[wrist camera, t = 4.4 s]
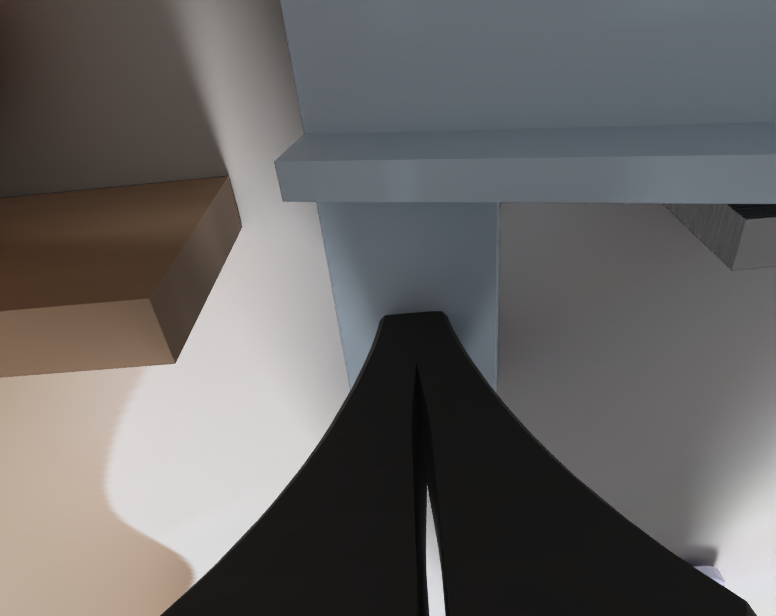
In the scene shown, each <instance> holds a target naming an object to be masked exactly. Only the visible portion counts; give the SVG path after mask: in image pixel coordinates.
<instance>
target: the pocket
mask: <svg viewBox="0 0 776 616" xmlns="http://www.w3.org/2000/svg"><path fill="white" fill-rule="evenodd" d="M241 228H242V225H241V221H240V217H239V214H238V210H237V206H236V202H235V199H234V195H233V191H232V188H231V184H230V180H229V176H225V177H215V178H204V179H194V180H184V181H173V182H163V183H153V184H142V185H132V186H121V187H111V188H101V189H90V190H80V191H70V192H59V193H49V194H39V195H28V196H18V197H8V198H0V377H13V376H26V375H38V374H51V373H63V372H75V371H89V370H101V369H114V368H126V367H139V366H152V365H164V364H175V363H176V361H177V359H178V357H179V355H180V353H181V351H182V349H183V347H184V345H185V343H186V341H187V339H188V337H189V334H190V332H191V330H192V328H193V326H194V324H195V322H196V320H197V318H198V316H199V314H200V312H201V310H202V308H203V306H204V304H205V302H206V300H207V298H208V296H209V294H210V292H211V290H212V288H213V285H214V283H215V281H216V279H217V277H218V275H219V273H220V271H221V269H222V267H223V265H224V263H225V261H226V259H227V257H228V255H229V253H230V251H231V249H232V247H233V245H234V243H235V241H236V239H237V237H238V234H239V232H240V230H241Z"/></svg>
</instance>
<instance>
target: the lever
mask: <svg viewBox="0 0 776 616" xmlns="http://www.w3.org/2000/svg"><path fill="white" fill-rule="evenodd" d="M280 4H281V9H282V15H283V20H284V26H285V31H286V37H287V42H288V48H289V53H290V59H291V64H292V70H293V75H294V81H295V86H296V92H297V97H298V103H299V108H300V114H301V120H302V125H303V131H304V135H303V136H302V137H301V138H300V139H299V140H298V141H297V142H296V143H294V144H293V145H292V146H291V147H290V148H289V149H288V150H287V151H286V152H284V153H283V154H282V155H281V156H280V157H279V158H278V159H277V160H275V161H274V163H275V167H276V172H277V177H278V181H279V186H280V190H281V195H282V200H283V201H287V202H317V208H318V213H319V219H320V224H321V230H322V235H323V241H324V247H325V252H326V258H327V263H328V269H329V274H330V280H331V285H332V291H333V296H334V302H335V307H336V313H337V318H338V324H339V329H340V335H341V340H342V346H343V351H344V357H345V363H346V368H347V374H348V379H349V385H350V390H351V389H352V387H353V385H354V383H355V381H356V379H357V377H358V375H359V373H360V371H361V369H362V366H363V364H364V362H365V360H366V358H367V355H368V353H369V351H370V348H371V346H372V343H373V341H374V338H375V335H376V332H377V329H378V325H379V321H380V320H381V319H382V318H383V317H384V316H385V315H392V314H405V313H417V312H429V311H442V312H443V313H444V314H445V315H447V316H448V319H449V321H450V323H451V325H452V327H453V329H454V331H455V333H456V335H457V337H458V339H459V340H460V342H461V344H462V345H463V347H464V348H465V350H466V352H467V353H468V355H469V356H470V358H471V359H472V361H473V362H474V364H475V365H476V367H477V368H478V369H479V371H480V372H481V373H482V375H483V376H484V378H485V379H486V380H487V382H488V383H489V385H490V386H491V387H492V388H493V390H494V391H495V392H496V394H497V361H498V302H499V244H500V203H700V204H776V0H280Z"/></svg>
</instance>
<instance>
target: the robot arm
mask: <svg viewBox="0 0 776 616" xmlns="http://www.w3.org/2000/svg"><path fill="white" fill-rule="evenodd" d="M427 486H428V491H429V497H430V503H431V508H432V514H433V519H434V525H435V531H436V536H437V542H438V548H439V555H440V562H441V570H442V579H443V591H444V602H445V613H446V616H757V615H756V614H755V612H754V611H753V610H752V608H751V607H750V605H749V604H748V603H747V602H746V601H745V600H744V599H742V598H741V597H739V596H737V595H736V594H734V593H733V592H731V591H730V590H728V589H727V588H725V587H724V579H723V577H722V575H721V573H720V571H719V570H718V569H717V568H715V567H712V566H692V565H690V564H689V563H687V562H686V561H684V560H682V559H681V558H679V557H678V556H676V555H675V554H673V553H672V552H671V551H669V550H668V549H666V548H665V547H664V546H662V545H661V544H660V543H658V542H657V541H656V540H654V539H653V538H652V537H650V536H649V535H647V534H646V533H645V532H643V531H642V530H641V529H639V528H638V527H637V526H635V525H634V524H633V523H631V522H630V521H629V520H627V519H626V518H625V517H624V516H622V515H621V514H620V513H619V512H618V511H616V510H615V509H614V508H613V507H612V506H610V505H609V504H608V503H607V502H606V501H604V500H603V499H602V498H601V497H600V496H598V495H597V494H596V493H595V492H593V491H592V490H591V489H590V488H589V487H587V486H586V485H585V484H584V483H583V482H581V481H580V480H579V479H578V478H577V477H576V476H574V475H573V474H572V473H571V472H570V471H569V470H568V469H567V468H566V467H565V466H564V465H563V464H562V463H560V462H559V461H558V460H557V459H556V458H555V457H554V456H553V455H552V454H551V453H550V452H549V451H548V450H547V449H546V448H545V447H544V446H543V445H542V444H541V443H540V442H539V441H538V440H537V439H536V438H535V437H534V436H533V435H532V434H531V433H530V432H529V431H528V430H527V429H526V427H525V426H524V425H523V424H522V423H521V422H520V421H519V420H518V419H517V417H516V416H515V415H514V414H513V413H512V412H511V410H510V409H509V408H508V407H507V406H506V404H505V403H504V402H503V401H502V400H501V399H500V397H499V396H498V395H497V394H496V392H495V391H494V390H493V388H492V387H491V386H490V385H489V383H488V382H487V380H486V379H485V378H484V376H483V375H482V373H481V372H480V371H479V369H478V368H477V367H476V365H475V364H474V362H473V361H472V359H471V358H470V356H469V355H468V353H467V352H466V350H465V348H464V347H463V345H462V344H461V342H460V340H459V339H458V337H457V335H456V333H455V331H454V329H453V327H452V325H451V323H450V321H449V319H448V316H447V315H445V314H444V313H443V312H442V311H429V312H417V313H405V314H392V315H385V316H384V317H383V318H382V319H381V320H380V321H379V325H378V329H377V332H376V335H375V338H374V341H373V343H372V346H371V348H370V351H369V353H368V355H367V358H366V360H365V362H364V364H363V366H362V369H361V371H360V373H359V375H358V377H357V379H356V381H355V383H354V385H353V387H352V389H351V391H350V393H349V394H348V396H347V398H346V400H345V401H344V403H343V405H342V406H341V408H340V410H339V412H338V413H337V415H336V417H335V418H334V420H333V422H332V424H331V425H330V427H329V428H328V430H327V431H326V433H325V434H324V436H323V438H322V439H321V441H320V442H319V444H318V445H317V446H316V448H315V449H314V451H313V452H312V454H311V455H310V456H309V458H308V459H307V460H306V462H305V463H304V465H303V466H302V467H301V469H300V470H299V471H298V473H297V474H296V475H295V476H294V478H293V479H292V480H291V481H290V483H289V484H288V485H287V486H286V488H285V489H284V490H283V491H282V493H281V494H280V495H279V496H278V498H277V499H276V500H275V501H274V502H273V504H272V505H271V506H270V507H269V508H268V509H267V511H266V512H265V513H264V514H263V515H262V516H261V517H260V518H259V520H258V521H257V522H256V523H255V524H254V525H253V526H252V527H251V528H250V529H249V530H248V531H247V532H246V533H245V534H244V535H243V536H242V537H241V538H240V540H239V541H238V542H237V543H236V544H235V545H234V546H233V547H232V548H231V549H230V550H229V551H228V552H227V553H226V554H225V555H224V556H223V557H222V558H221V560H220V561H219V562H218V563H217V564H216V565H215V566H214V567H213V568H212V569H210V570H209V571H208V572H207V573H206V574H205V575H204V576H203V577H202V578H201V579H200V580H199V581H198V582H197V583H196V584H195V585H193V586H192V587H191V588H190V589H189V590H188V591H187V592H186V593H185V594H184V595H182V596H181V597H180V598H179V599H178V600H177V601H176V602H175V603H174V604H173V605H171V606H170V607H169V608H168V609H167V610H166V611H165V612H164V613H163V614H162V615H160V616H429V605H428V591H427V576H426V509H427Z"/></svg>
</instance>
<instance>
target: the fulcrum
mask: <svg viewBox="0 0 776 616" xmlns="http://www.w3.org/2000/svg"><path fill="white" fill-rule="evenodd" d="M662 204H663V205H664V206H665V207H667V208H668V209H669V210H670V211H671V212H672V213H673V214H674V215H675V216H676V217H677V218H678V219H679V220H680V221H681V222H682V223H683V224H684V225H685V226H686V227H687V228H688V229H689V230H690V231H691V232H692V233H693V234H694V235H695V236H696V237H698V238H699V239H700V240H701V241H702V242H703V243H704V244H705V245H706V246H707V247H708V248H709V249H710V250H711V251H712V252H713V253H714V254H715V255H716V256H717V257H718V258H719V259H720V260H721V261H722V262H723V263H724V264H725V265H726V266H727V267H728V268H730V269H731V270H744V269H755V268H767V267H776V204H700V203H662Z"/></svg>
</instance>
